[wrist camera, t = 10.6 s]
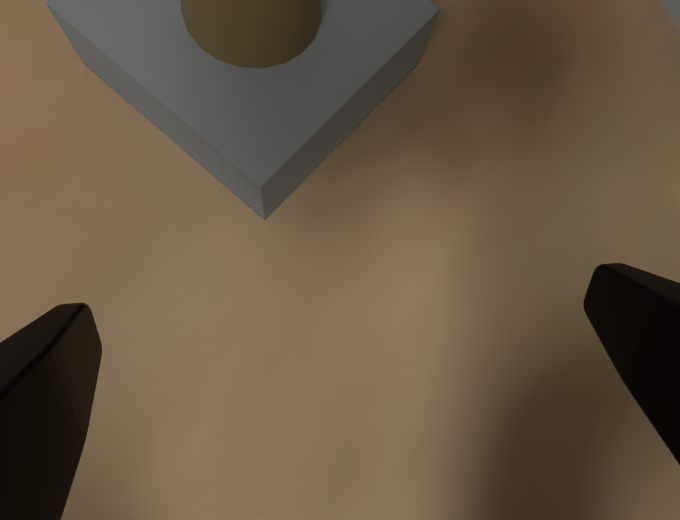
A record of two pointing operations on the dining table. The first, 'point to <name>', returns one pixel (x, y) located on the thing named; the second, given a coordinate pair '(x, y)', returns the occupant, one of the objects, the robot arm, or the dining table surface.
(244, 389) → the dining table surface
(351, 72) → the podium
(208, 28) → the cork
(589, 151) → the dining table surface
